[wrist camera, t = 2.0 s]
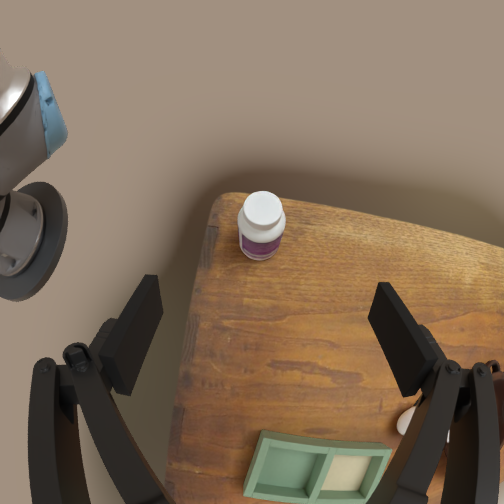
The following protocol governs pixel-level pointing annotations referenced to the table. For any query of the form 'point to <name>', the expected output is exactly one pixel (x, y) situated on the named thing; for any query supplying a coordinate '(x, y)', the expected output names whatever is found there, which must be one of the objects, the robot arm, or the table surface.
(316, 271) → the table surface
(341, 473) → the tray
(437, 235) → the table surface
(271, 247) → the pill bottle
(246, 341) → the table surface
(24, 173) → the robot arm
